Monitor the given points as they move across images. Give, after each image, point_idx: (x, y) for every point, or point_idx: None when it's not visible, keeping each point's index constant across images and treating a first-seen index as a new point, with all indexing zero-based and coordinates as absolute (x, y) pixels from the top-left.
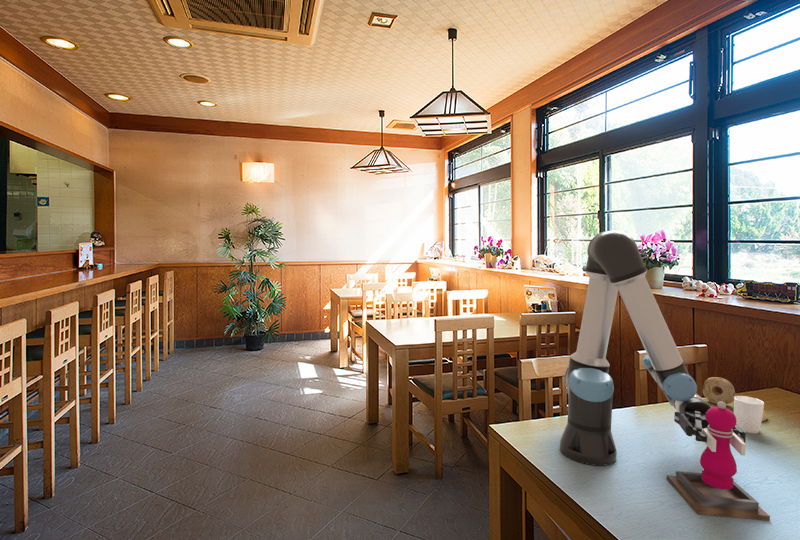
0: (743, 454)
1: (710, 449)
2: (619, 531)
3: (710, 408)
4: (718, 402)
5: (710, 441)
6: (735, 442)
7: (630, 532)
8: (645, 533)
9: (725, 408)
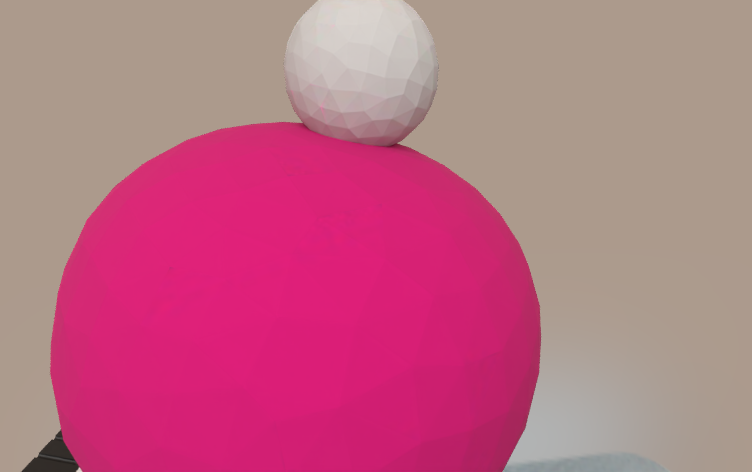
0: None
1: None
2: (633, 458)
3: (506, 239)
4: (430, 34)
5: None
6: None
7: (608, 457)
8: (574, 457)
9: (268, 128)
